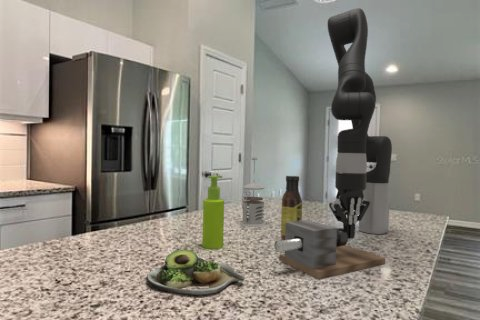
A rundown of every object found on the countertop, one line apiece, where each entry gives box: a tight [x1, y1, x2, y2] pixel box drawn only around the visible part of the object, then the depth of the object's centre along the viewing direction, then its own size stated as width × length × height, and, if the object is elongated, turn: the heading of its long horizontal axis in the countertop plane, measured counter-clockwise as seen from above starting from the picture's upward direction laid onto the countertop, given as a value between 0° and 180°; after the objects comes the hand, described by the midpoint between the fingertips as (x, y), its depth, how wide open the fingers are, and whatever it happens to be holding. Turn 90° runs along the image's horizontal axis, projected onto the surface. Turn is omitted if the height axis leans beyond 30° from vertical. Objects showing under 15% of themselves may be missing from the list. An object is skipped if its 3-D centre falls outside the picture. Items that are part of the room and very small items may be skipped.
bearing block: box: [278, 219, 386, 280], centre depth 85 cm, size 22×14×10 cm, turn 121°
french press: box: [239, 156, 267, 228], centre depth 126 cm, size 10×12×25 cm
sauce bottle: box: [280, 175, 303, 240], centre depth 105 cm, size 7×6×20 cm
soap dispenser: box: [201, 174, 225, 250], centre depth 97 cm, size 6×7×20 cm
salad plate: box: [146, 249, 246, 296], centre depth 72 cm, size 19×18×5 cm
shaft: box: [273, 227, 349, 253], centre depth 82 cm, size 20×5×5 cm, turn 121°
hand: (348, 238), depth 88 cm, fingers closed
